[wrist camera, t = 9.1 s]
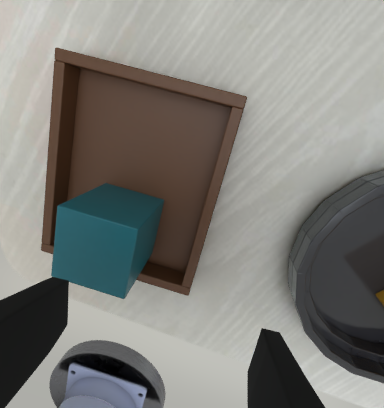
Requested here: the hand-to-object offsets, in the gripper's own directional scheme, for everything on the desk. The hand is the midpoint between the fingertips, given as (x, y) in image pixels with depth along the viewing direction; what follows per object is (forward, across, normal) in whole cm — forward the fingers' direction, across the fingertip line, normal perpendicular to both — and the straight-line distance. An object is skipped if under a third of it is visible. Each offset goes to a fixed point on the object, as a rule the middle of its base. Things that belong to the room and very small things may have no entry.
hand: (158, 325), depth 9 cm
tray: (+8, +4, -3) cm, 10 cm away
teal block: (+8, +4, 0) cm, 9 cm away
